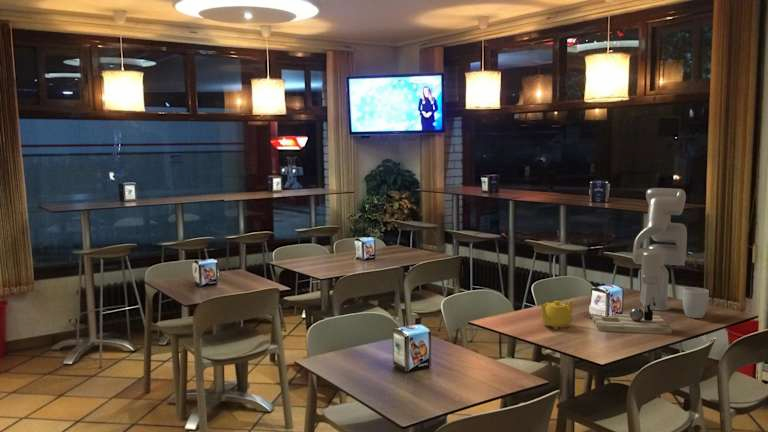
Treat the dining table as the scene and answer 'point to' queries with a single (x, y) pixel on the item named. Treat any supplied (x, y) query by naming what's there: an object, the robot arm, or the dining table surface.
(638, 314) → the ball
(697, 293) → the mug
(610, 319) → the runway board
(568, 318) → the teapot
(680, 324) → the dining table surface
